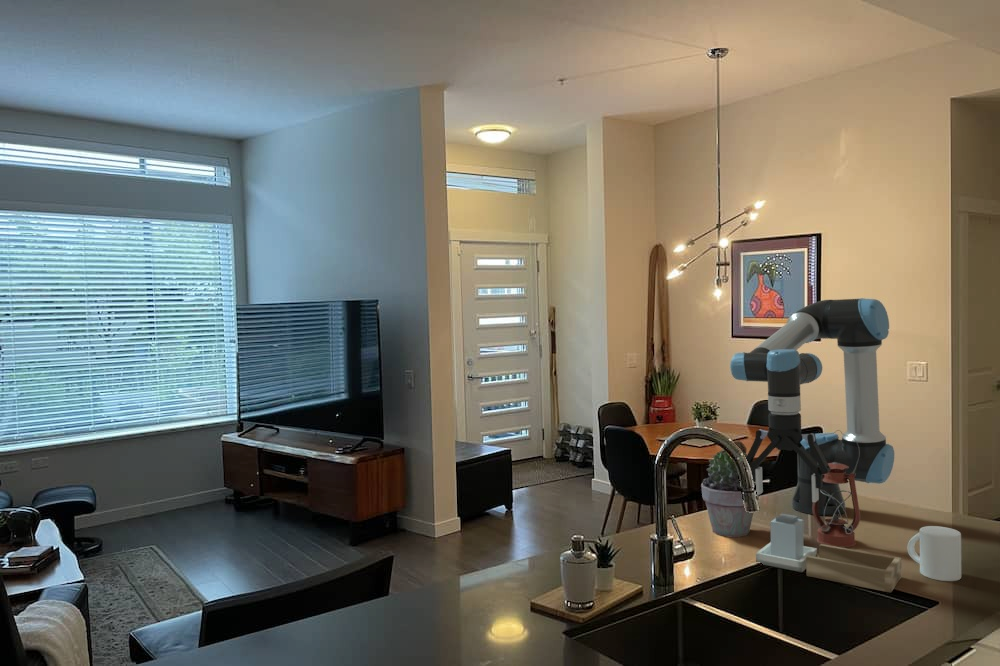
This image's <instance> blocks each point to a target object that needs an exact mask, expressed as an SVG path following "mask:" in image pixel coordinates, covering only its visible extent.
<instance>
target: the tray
mask: <svg viewBox="0 0 1000 666" xmlns="http://www.w3.org/2000/svg"><path fill="white" fill-rule="evenodd" d="M803 546H804V556H802V557H801V558H800V559H799V560H795V559H790V558H784V557H779V556H774V555H771V541H770V542H769V543H767V544H765V546H763V547H762V548H761V549H759V550H757V552H756V553H755V563H756V562H760V563H762V564H763V566H768V567H773V568H778V569H784V570H788V571H792V572H793V571H794V572H798V573H803V572H805V570H806V557H807V556H814V557H818V548H817V547H811V546H806V545H803ZM762 564H761V565H762Z"/></svg>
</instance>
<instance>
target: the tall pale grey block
mask: <svg viewBox="0 0 1000 666" xmlns="http://www.w3.org/2000/svg"><path fill="white" fill-rule="evenodd" d="M770 542H771V555H774V556H779V557H784V558H790V559H795V560H799V559H800V558H801V557H802V556H804V546H805V545H804V519H801V518H798V515H793V514H788V513H780V514H779V515H777V516H776V517H775V518H773V519H772V520H771V521H770Z"/></svg>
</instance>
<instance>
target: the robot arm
mask: <svg viewBox="0 0 1000 666" xmlns="http://www.w3.org/2000/svg"><path fill="white" fill-rule="evenodd" d="M889 330H890V321H889V315H888V311H887V309H886V307H885V305H884V304H883V303H882V302H881V301H880V300H878V299H876V298H865V297H864V298H863V297H862V298H847V299H846V298H845V299H844V298H843V299H824V300H819V301H817V302H813V303H810V304H809V305H808V304H807V305H806V306H804V307H802V308H800V309H799V310H797V311H795V312H794V313H793V314H792V315H790V316H789V317H788V319H787V320H786V324H784V325H783V326H782V327H781V328H779V329H778V330H776V331H775V332H773V334H771V336H769V337H767V338H766V339H765V340H764V341H763V342H762V343H760V344H759V345H758V346H755V348H754V349H753V350H751V351H750V352H745V351H744V352H737V353H735V354H734V355H733V356H732V357H731V360H730V367H729V368H730V372H731V375H732V377H733V378H734V380H738V381H745V382H761V383H762V382H763V383H766V382H767V402H768V403H767V405H768V406H767V407H768V409H767V410H768V411H769V413H768V415H767V416H768V430H764V429H763V428H760V429H758V430H756V432H755V439H754V440H753V443H752V445H751V447H750V449H749V451H748V453H747V457H746V459H747V461H748V463H749V465H750V467H751V474H753V478H754V480H753V481H755V483H756V492H757V495H759V496H760V495H762V493H763V492H764V489H763V488H764V486H763V484H764V483H763V466H760V465H761V464H762V463H763V462H764V461H765V459H766V458H767V457H768V456H769V455H770V454H771V453H772V452H773V451H774V450H775V449H776V450H778V451H782V450H783V451H784V450H785V451H790V452H791V451H794V452H795V453H796V454H797V455H796V457H797V458H796V460H797V484H796V487H795V490H794V493H793V495H792V499H791V507H792V508H793V509H794V510H796V511H798V512H800V513H804V514H805V513H806V514H810V515H813V511H812V506H813V502H817V501H818V500H819V502H818V513H819V516H833V514H834V513H835V511H836V509H837V506H839V505H840V503H842V502H843V501H844V500H845V499H844V496H843V494H842V492H837V491H842V490H841V488H840V484H834V483H827V482H824V481H823V478H824V476H822V475H823V474H827V473H828V472H829V471H830V470H831V469H830V467H829V465H828V463H834V462H837V463H840V464H844V465H846V466H849V468H845V469H844V471H846V474H851V473H852V472H853V471H854V469H855V467H856V470H855V471H854V472H855V473H856V475H855V477H854V479H855V482H861V483H866V484H884V483H885V482H886V481H888V480H889V479H888V478H889V477H890V476H891V473H892V470H893V468H894V462H895V450H894V446H893V445H891V444H889V443H887V440H886V437H887V436H886V435H885V434H883V432H881V431H880V413H879V411H880V409H879V405H880V404H879V388H878V387H879V385H878V384H879V382H878V363H877V361H878V360H877V351H878V349H879V348H880V347H881V346H882V345H883V340H886V339H887V337H888V336H889V333H890V332H889ZM820 339H822V340H823V339H827V340H828V339H831V340H832V339H833V340H836V341H837V343H836V344H837V347H838V348H839V349H841V350H842V351H843V368H844V369H843V370H844V388H845V389H844V392H845V409H846V410H845V411H846V412H845V413H846V432H844V433H843V434H844V435H843V434H841V439H840V438H839V434H838V433H834V432H831V433H832V434H829V433H830V432H822V433H814V432H811V433H803V432H802V414H801V413H800V412H801V410H802V408H801V407H802V405H801V385H804V384H809V383H812V382H814V381H816V380H817V379H818V378H819V377H820V376H821V375H822V371H823V364H822V361H821V360H820V358H819V357H818V356H817V355H815V354H813V353H811V352H806V353H804V352H801V353H799V351H798V349H800V348H801V347H802V346H803V345H805V344H809V343H811V342H814V341H815V340H820ZM824 434H826V435H824ZM820 435H822V436H820ZM845 435H847V436H845ZM818 436H819V437H818ZM848 436H849V437H848ZM766 437H767V438H768V440H769V441H770V443H769V444H768V445H767V446H766V447H765V449H764V450H763V451H762V452H761V453H760V455H759V456H757V458H756V459H755V460H754V458H755V456H756V454H757V452H758V450H759V449H760V447H761V444H762V442H763V441H764V440H765V438H766ZM817 437H818V438H817ZM850 437H852V438H853V439H852V438H850ZM816 438H817V440H816ZM854 439H855V440H856V441H855V440H854ZM856 442H857V443H858V445H857V443H856ZM858 446H859V448H858ZM859 450H860V455H859ZM858 457H859V460H858ZM857 461H858V463H857ZM817 462H818V463H817ZM856 464H857V466H856ZM853 474H854V473H853ZM847 480H848V479H847ZM848 481H849V480H848ZM818 488H820V490H821V489H822V490H824V491H826V492H827V493H829V494H830V495H832V494H833V493H835V492H837V493H835V494H834V495H832V497H834V498H836V499H837V500H838V501H839V502H840V503H839V502H838V501H836V500H835V499H834V498H833V499H834V500H835V501H834V500H833V499H832V497H831V498H830V497H829V496H827V495H828V494H827V493H826V492H824V491H822V490H821V491H822V492H823V493H825V494H827V495H824V494H823V493H821V491H820V494H819V491H818ZM829 498H830V500H829ZM828 500H829V501H828ZM827 502H828V504H827ZM835 502H836V503H835ZM826 504H827V506H826ZM836 504H837V506H836ZM841 505H842V506H843V508H844V510H845V511H846V501H845V502H843V503H842V504H841ZM841 505H840V506H839V511H840V513H839V511H838V509H837V511H836V513H835V514H839V515H840V514H845V512H844V510H843V508H842V506H841ZM825 507H826V509H825ZM824 510H825V515H824Z"/></svg>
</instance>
